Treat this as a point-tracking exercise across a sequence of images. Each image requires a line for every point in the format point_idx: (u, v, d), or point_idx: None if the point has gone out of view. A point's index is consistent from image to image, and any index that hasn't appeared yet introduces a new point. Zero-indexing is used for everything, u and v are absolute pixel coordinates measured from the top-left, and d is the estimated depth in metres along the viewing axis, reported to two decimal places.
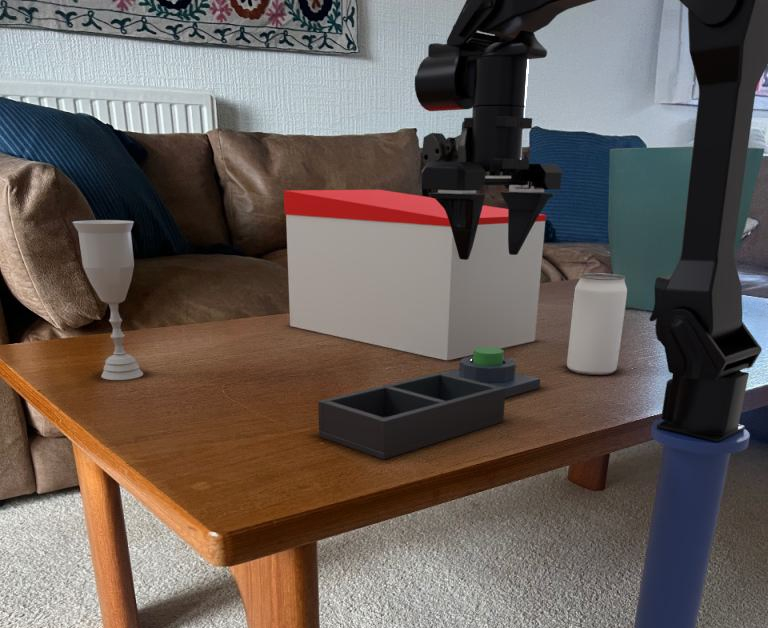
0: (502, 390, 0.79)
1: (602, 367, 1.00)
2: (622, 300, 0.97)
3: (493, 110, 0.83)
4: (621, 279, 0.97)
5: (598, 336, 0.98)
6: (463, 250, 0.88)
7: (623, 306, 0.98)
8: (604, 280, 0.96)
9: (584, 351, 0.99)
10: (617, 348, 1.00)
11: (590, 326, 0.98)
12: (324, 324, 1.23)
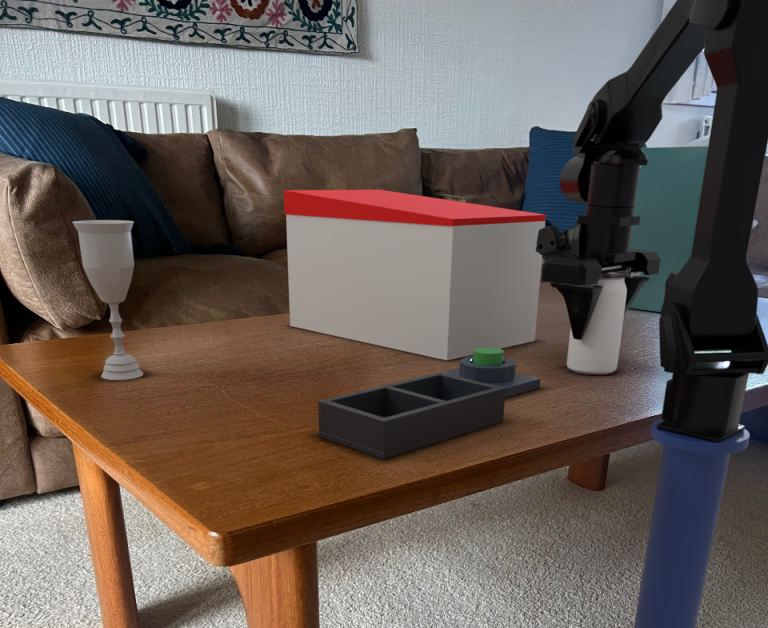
0: (502, 390, 0.79)
1: (601, 367, 1.00)
2: (622, 300, 0.97)
3: (608, 211, 0.93)
4: (621, 279, 0.97)
5: (598, 335, 0.98)
6: (578, 332, 0.98)
7: (623, 306, 0.98)
8: (604, 280, 0.96)
9: (584, 351, 0.99)
10: (617, 348, 1.00)
11: (590, 326, 0.98)
12: (324, 324, 1.23)
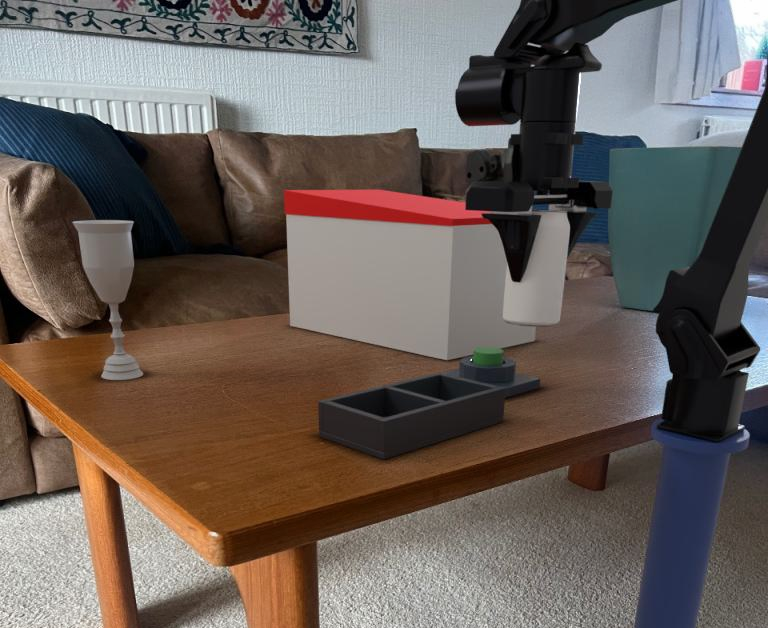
0: (502, 390, 0.79)
1: (540, 317, 0.85)
2: (563, 237, 0.83)
3: (543, 126, 0.79)
4: (562, 212, 0.82)
5: (535, 278, 0.84)
6: (516, 272, 0.84)
7: (565, 245, 0.84)
8: (541, 212, 0.82)
9: (519, 297, 0.85)
10: (559, 295, 0.85)
11: None
12: (324, 324, 1.23)
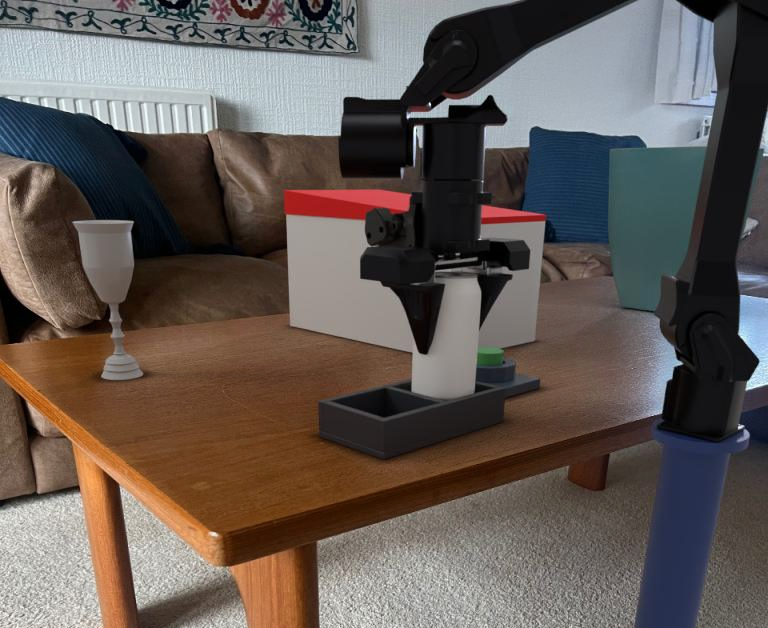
0: (502, 390, 0.79)
1: (450, 393, 0.77)
2: (472, 305, 0.74)
3: (444, 185, 0.70)
4: (471, 278, 0.74)
5: (443, 351, 0.75)
6: (422, 344, 0.75)
7: (475, 313, 0.75)
8: (446, 278, 0.73)
9: (427, 371, 0.76)
10: (470, 368, 0.77)
11: None
12: (324, 324, 1.23)
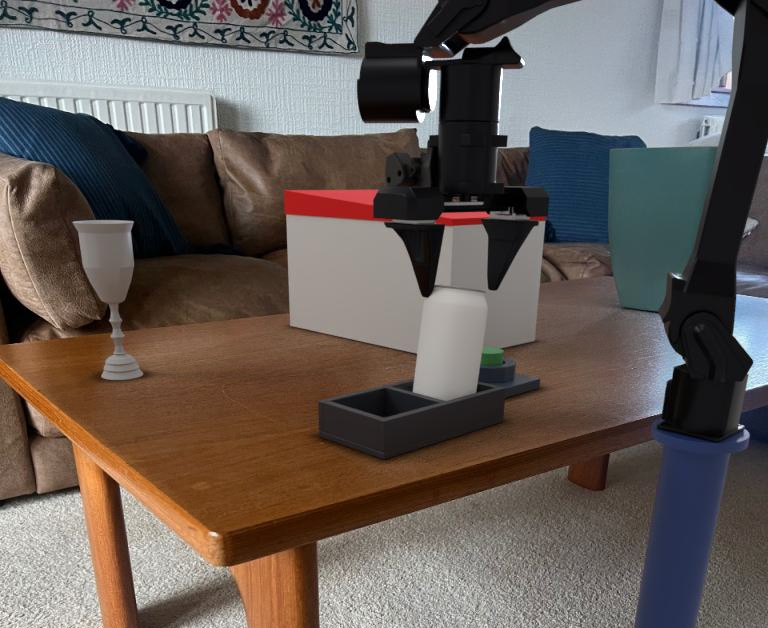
0: (502, 390, 0.79)
1: None
2: (479, 318, 0.76)
3: (458, 126, 0.71)
4: (479, 291, 0.76)
5: (447, 360, 0.76)
6: (424, 287, 0.76)
7: (481, 327, 0.77)
8: (456, 289, 0.75)
9: (429, 379, 0.77)
10: (472, 380, 0.78)
11: (437, 346, 0.76)
12: (324, 324, 1.23)
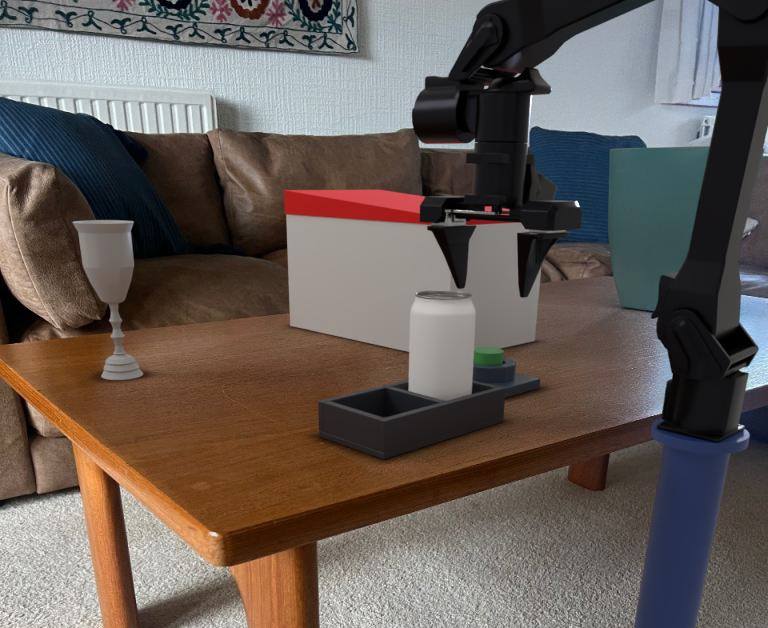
0: (502, 390, 0.79)
1: None
2: (463, 326, 0.75)
3: None
4: (462, 298, 0.74)
5: (434, 371, 0.76)
6: None
7: (467, 333, 0.75)
8: (437, 300, 0.74)
9: (419, 390, 0.77)
10: (463, 387, 0.77)
11: (423, 358, 0.76)
12: (324, 324, 1.23)
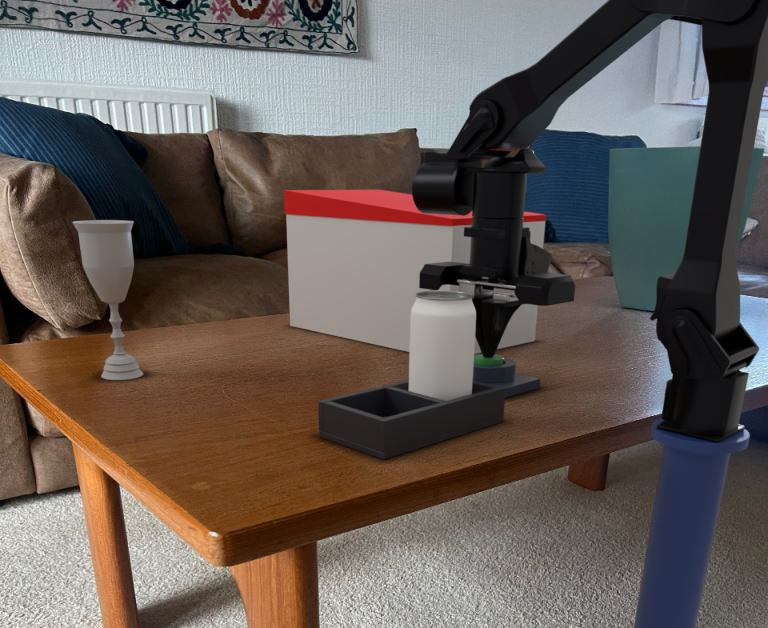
0: (502, 390, 0.79)
1: None
2: (464, 327, 0.75)
3: None
4: (463, 299, 0.74)
5: (434, 372, 0.76)
6: None
7: (467, 334, 0.75)
8: (437, 300, 0.74)
9: (419, 390, 0.77)
10: (464, 388, 0.77)
11: (424, 359, 0.76)
12: (324, 324, 1.23)
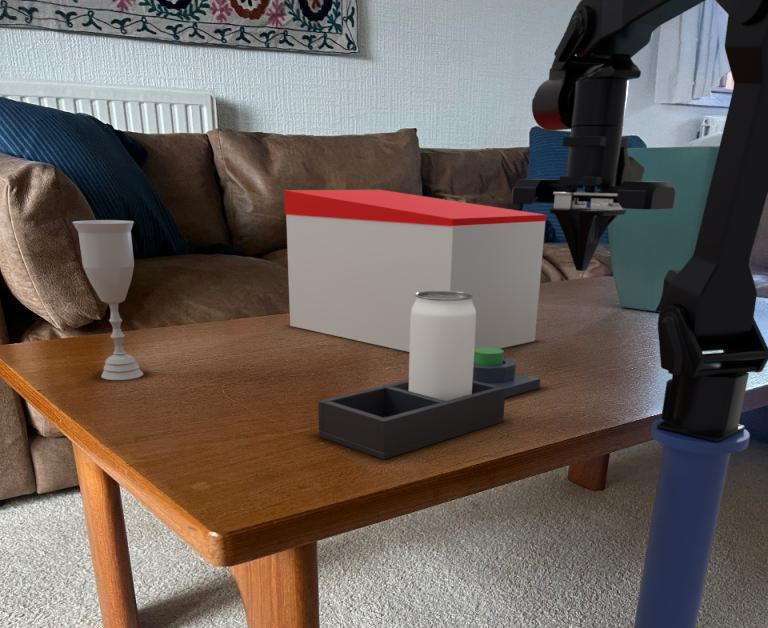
0: (502, 390, 0.79)
1: None
2: (464, 327, 0.75)
3: None
4: (463, 299, 0.74)
5: (434, 372, 0.76)
6: None
7: (467, 334, 0.75)
8: (437, 300, 0.74)
9: (419, 390, 0.77)
10: (464, 388, 0.77)
11: (424, 359, 0.76)
12: (324, 324, 1.23)
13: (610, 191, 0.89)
